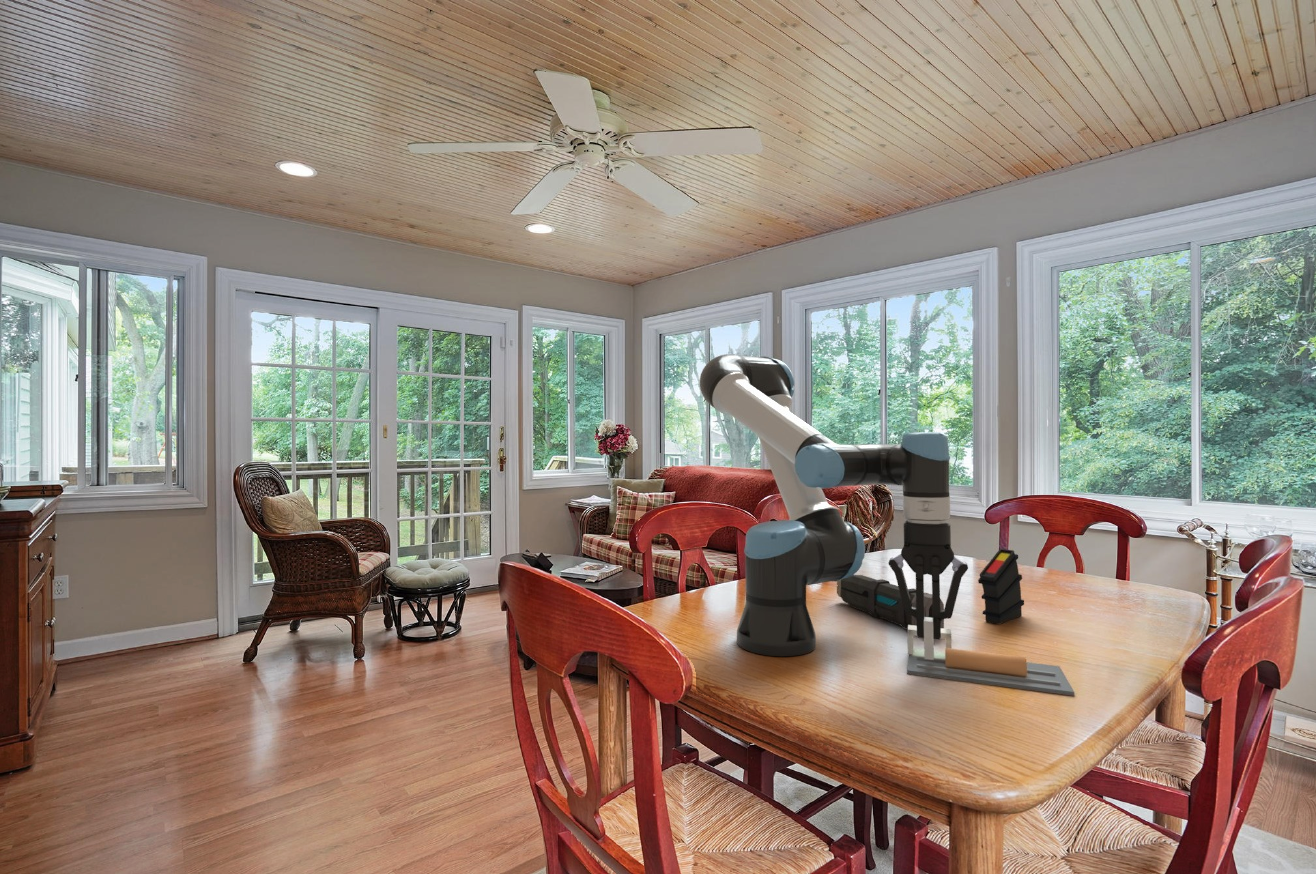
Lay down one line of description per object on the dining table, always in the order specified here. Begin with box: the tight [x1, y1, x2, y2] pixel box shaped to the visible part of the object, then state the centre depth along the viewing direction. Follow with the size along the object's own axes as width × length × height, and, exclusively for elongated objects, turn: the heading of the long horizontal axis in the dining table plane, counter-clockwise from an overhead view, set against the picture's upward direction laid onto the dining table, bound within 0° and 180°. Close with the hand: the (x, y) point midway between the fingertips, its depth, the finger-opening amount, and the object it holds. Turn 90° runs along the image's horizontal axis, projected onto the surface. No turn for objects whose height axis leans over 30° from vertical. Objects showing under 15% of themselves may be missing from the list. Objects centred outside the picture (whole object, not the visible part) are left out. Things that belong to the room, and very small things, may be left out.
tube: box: [836, 574, 945, 630], centre depth 140 cm, size 11×7×30 cm
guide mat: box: [906, 648, 1075, 697], centre depth 107 cm, size 24×12×1 cm, turn 67°
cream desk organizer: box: [907, 625, 953, 655], centre depth 114 cm, size 3×7×4 cm, turn 67°
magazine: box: [977, 548, 1025, 625], centre depth 138 cm, size 4×13×15 cm, turn 127°
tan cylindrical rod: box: [944, 647, 1028, 678], centre depth 106 cm, size 12×3×3 cm, turn 67°
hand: (929, 656), depth 109 cm, fingers closed
